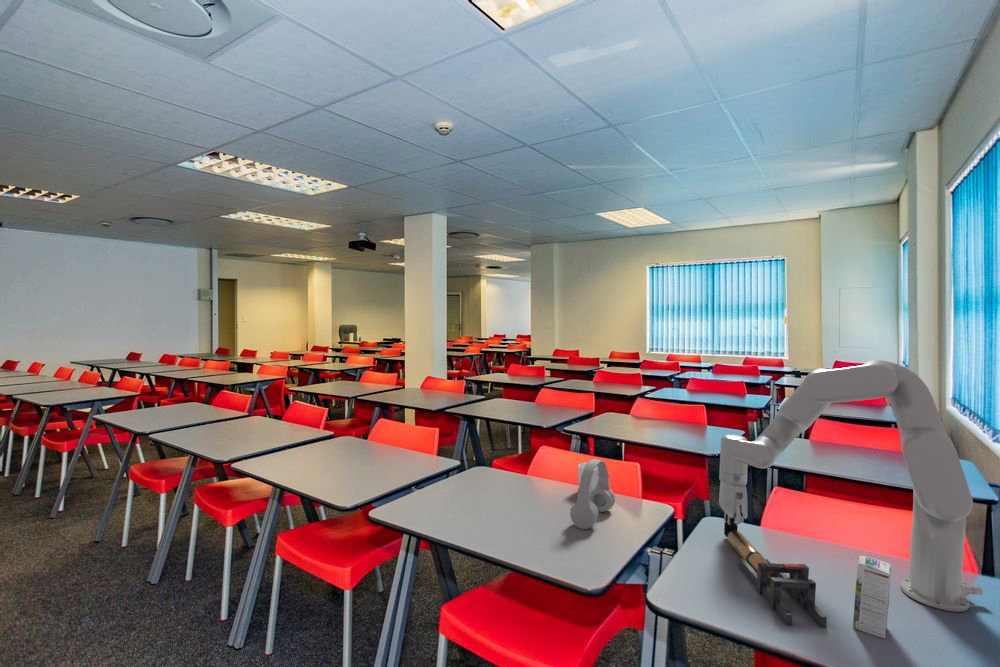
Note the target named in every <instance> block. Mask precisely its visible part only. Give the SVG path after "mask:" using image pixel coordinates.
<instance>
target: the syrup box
mask: <svg viewBox="0 0 1000 667" xmlns="http://www.w3.org/2000/svg"><path fill="white" fill-rule="evenodd" d="M891 576H892V564H891V563H889V562H886V561H883V560H880V559H877V558H873V557H869V556H867V555H866V556H864V555H859V559H858V565H857V573H856V581H855V591H854V606H853V621H852V628H853V629H855V630H857V631H860V632H863V633H867V634H869V635H872V636H874V637H875V636H876V637H878V638H882V639H884V640H885V639H886V637H887V630H888V629H887V627H888V615H889V606H890V605H889V604H890V591H891V590H890V589H891V579H892V578H891Z"/></svg>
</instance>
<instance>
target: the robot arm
mask: <svg viewBox="0 0 1000 667" xmlns="http://www.w3.org/2000/svg"><path fill="white" fill-rule="evenodd" d="M933 397H934V396H932V393H931V391H930V389H929V387H928V385H927V384H926V383H925V382H924V381H923V379H922V378H921V377H919V376H918V375H917V374H916V373H915V372H914V371H912V370H911V369H909V368H907V367H905V366H903V365H900V364H898V363H895V362H892V361H886V360H881V359H879V360H877V359H875V360H873V359H872V360H869V361H866V362H864V363H863V364H861V365H856V366H848V367H842V368H833V369H831V368H826V367H825V368H824V367H822V368H821V367H820V368H816V369H814V370H812V371H810V372H809V373H808V374H807V375H806V376H805V378H804V379H803V381H802V382H801V383H800V384H799V385H798V386H797V387H796V389H795V390H794V391H793V392H792V393H791V395H790V396H789V397H788V398H787V399H786V400H785V401H784V403H782V405H780V408H779V409H778V411H777V413H776V415H775V417H774V418H773V420H772V421H771V422H770V423H769V424H768V425H767V426H766V427H765V428H764V430H763V431H762V432H761V433H760V435H758V437H757V438H755V439H754V440H752V441H749V440H748V439H747V438H746V437H745V436H742V435H739V434H724V435H723V436H722V437H721V438H720V439H721V440H720V453H719V454H720V455H719V457H720V459H719V477H718V478H719V479H718V480H719V481H720V484H719V496H718V498H719V499H718V502H719V503H718V505H719V507H720V508H721V510H722V511H723V519H724V526H723V527H724V529H723V534H724V536H725V537H726V538H727V536H728V534H729V533H730V532H731V531H738V526H739V525H741V524H742V521H741V520H742V519H741V517H742V518H743V519H745V520H747V518H748V492H747V491H748V490H747V486H746V485H747V484H748V469H749V468H748V467H749V466H752V467H754V468H757V469H768V468H771V466H773V465H774V464H775V462H776V461H777V460H778V458H780V456H781V455H782V454H783V453H784V452H785V450H787V448H788V447H789V446H790V445H791V443H793V442H794V441H795V440H796V439H797V437H798V436H799V435H800V434H802V433H803V432H804V431H807V429H809V428H810V427H811V426H812V425H813V424H814V422H815V421H817V419H818V418H819V417H820V416H821V415H822V414H823V413H824V412H825V410H826V409H828V407H829V406H831V404H833V403H837V404H838V403H847V402H848V403H849V402H854V401H855V402H857V401H866V400H875V399H876V400H878V399H881V398H886V399H887V400H888V402H889V404H890V408H891V411H892V413H893V416H894V419H895V422H896V425H897V428H898V431H899V436H900V448H901V452H902V456H903V459H904V463H905V466H906V468H907V472H908V475H909V478H910V481H911V483H912V487H913V490H912V491H913V492H912V493H913V496H912V497H913V498H912V500H913V501H912V502H913V503H912V522H911V523H912V526H911V534H910V538H911V539H910V552H909V553H910V554H909V566H908V569H909V570H908V577H907V578H904V579H901V581H900V583H899V588H900V590H901V591H902V592H904V594H906V596H909V597H910V598H912V599H913V600H915V601H917V602H919V603H921V604H923V605H926V606H929V607H932V608H934V609H935V608H936V609H938V610H941V611H942V610H943V611H948V612H955V613H956V612H957V613H958V612H959V613H960V612H967V611H968V610H969V609H970V601H969V600H968V598H967V597H966V596H969V595H974V596H976V595H977V596H980V595H981V596H982V595H983V594H984V593H983V592H984V591H983V588H982V587H981V586H979V585H968V584H967V582H966V581H965V580H963V569H964V568H963V566H964V554H965V552H964V551H965V541H966V526H967V525H966V522H967V519H966V518H967V517H968V516H969V514H970V513H971V512H972V510H973V506H974V505H973V503H974V500H973V497H972V493H971V490H970V488H969V484H968V482H967V479H966V478H967V477H966V476H965V473H964V470H963V466H962V463H961V460H960V457H959V454H958V451H957V449H956V448H955V444H954V443H953V441H952V440H951V438H950V437H949V435H948V434H947V432H946V430H945V427H944V425H943V421H942V418H941V415H940V413H939V411H938V407H937V405H936V403H935V400H934V398H933Z"/></svg>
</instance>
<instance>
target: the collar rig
mask: <svg viewBox="0 0 1000 667" xmlns="http://www.w3.org/2000/svg"><path fill="white" fill-rule="evenodd" d="M765 559H766V560H767V562H768V563H758V572H757V573H756V572H755V570H754V569H753V568H752V567H751V566H750V565H749V563H748V562H747V561H746V560H745V559H744V558H743V557H741V556H739V557H738V561H737V566H738V567H739V569H740V570H741V571H742V572H743V574H744V575H745V576H746V578H748V580H749V581H750V583H751V584H752V585H753V586H754V587H755V589H756V591H757V593H758V594H759V595H761V596H762V597H763V599H765V601H766V602H767V603H768V604H769V608H770V609H771V610H772V611H773V612H775V614H776V615H777V616H778V617H779V618H780V619H781V621H782V622H783V623H784V624H785V625H786V626H793V613H791V612H790V610H789V609H788V607H786V606H785V604H784V603H783V602H782V601H781V599H782V598H781V596H782V589H783V588H784V589H785V590H786V592H788V594H789V595H791V597H792V598H793V599H794V600H795V601H796V602H797V603H798V604H799V606H800V607H801V608H802V609H803V610H804V611H805V613H806V614H808V616H810V617H811V619H813V621H814V622H815V623H816V624H817V625H818V627H819V628H821V629H822V628H823V629H824V628H825V629H827V623H828V622H827V621H828V620H827V619H828V617H827V616H826V614H824V613H823V612H822V610H820V609H819V608H818V606H817V605H816V590H817V587H816V586H817V583H816V581H814V580H813V579H811V578H810V579H809V577H810V576H809V575H810V568H809V567H808V565H806V564H804V563H798V564H797V563H775V561H774V560H773V559H772V558H765ZM767 572H774V573H777V577H771V583H769V584H770V587H769V585H768V583H767ZM787 574H789V576H788V575H787Z"/></svg>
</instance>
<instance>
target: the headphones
mask: <svg viewBox="0 0 1000 667" xmlns="http://www.w3.org/2000/svg"><path fill="white" fill-rule="evenodd" d="M586 463H587V464H586V466H585V468H584V470H583V473H582V476H581V480H580V485H579V484H578V488H577V492H578V494H577V498H576V499H577V500H576V502H575V503H573V505H571V508H570V511H569V516H570V520H571V522H572V523H573V524H574V525H575V527H577V528H578V529H581V530H588V529H591V528H592V527H593V526H594V525H595V524H596V522H598V518H599V513H605V512H607V511H609V510H610V509H612V508H613V506H614V504H615V501H616V495H615V493H614V491H613V490H612V489H611V487H610V482H609V479H610V474H609V473H608V472H609V471H608V468H607V465H606V462H605V461H603V460H599V459H594V458H593V459H590V460H589V461H588V462H586ZM596 466H597V467H598V471H599V473H598V476H599V479H598V484H597V486H596V487H595V488H594V489H593V490H592V491H591V492H590V491H589V487H590V482H591V478H592V475H593V472H594V470H595V468H596ZM589 493H590V494H589Z"/></svg>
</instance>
